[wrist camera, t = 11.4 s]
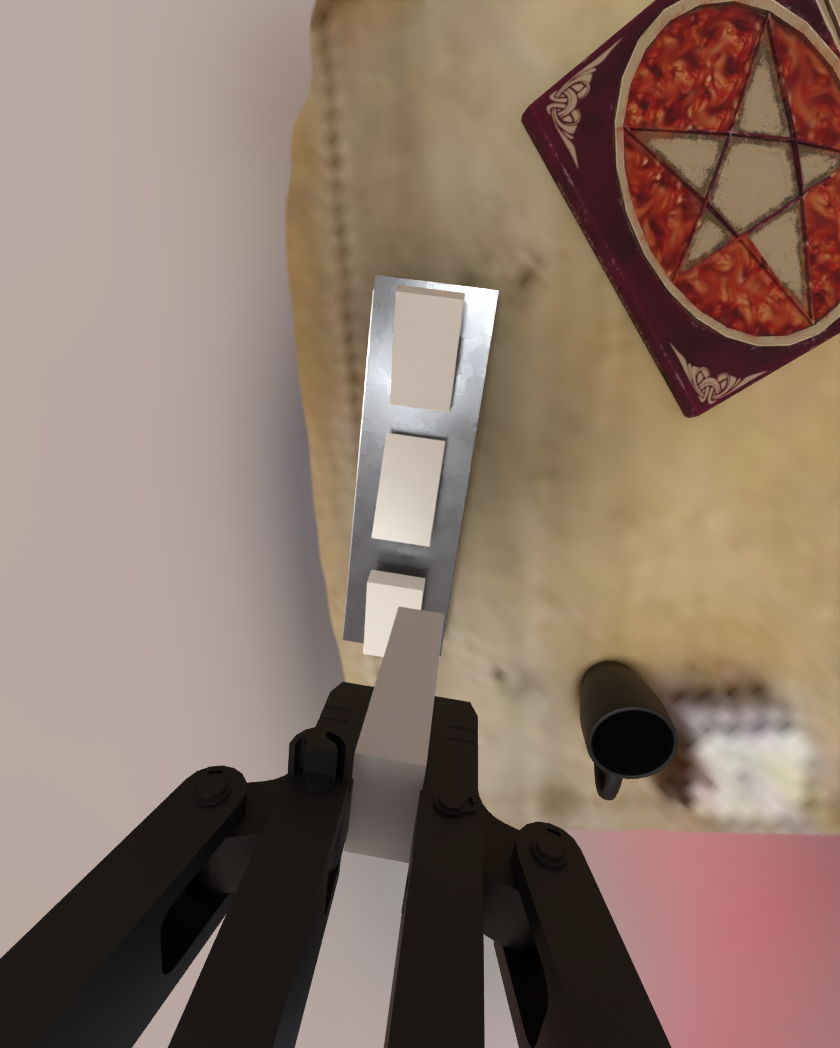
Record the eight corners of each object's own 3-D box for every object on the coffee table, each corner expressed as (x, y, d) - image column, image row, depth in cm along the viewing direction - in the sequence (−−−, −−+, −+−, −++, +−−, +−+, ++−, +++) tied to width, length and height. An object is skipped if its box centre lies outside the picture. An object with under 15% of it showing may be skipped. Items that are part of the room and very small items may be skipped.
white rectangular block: (389, 436, 48) (385, 432, 45) (446, 445, 47) (446, 441, 44) (375, 535, 48) (370, 537, 45) (431, 543, 48) (430, 546, 45)
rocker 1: (401, 280, 41) (394, 291, 39) (467, 288, 41) (465, 300, 38) (395, 388, 47) (388, 404, 44) (453, 396, 46) (450, 412, 44)
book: (520, 126, 44) (524, 101, 39) (776, -86, 38) (817, -146, 33) (680, 414, 50) (700, 422, 45) (924, 269, 44) (977, 261, 39)
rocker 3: (373, 561, 49) (366, 581, 47) (428, 569, 49) (424, 590, 46) (368, 631, 54) (362, 653, 51) (419, 639, 54) (414, 662, 51)
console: (383, 282, 47) (373, 274, 43) (496, 296, 47) (498, 290, 42) (351, 618, 59) (341, 642, 54) (443, 633, 58) (440, 658, 53)
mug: (550, 731, 61) (563, 797, 52) (583, 642, 57) (603, 697, 48) (620, 748, 60) (646, 818, 51) (658, 660, 56) (693, 719, 47)
